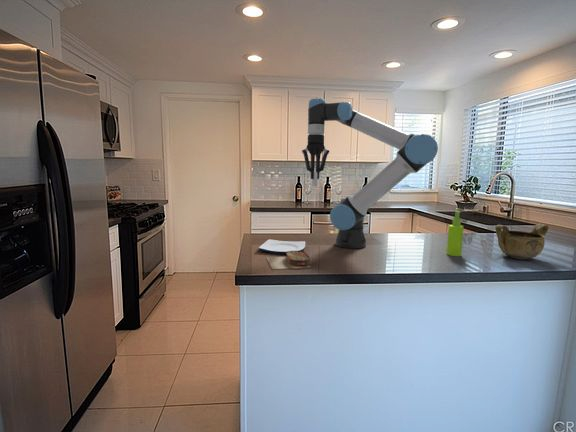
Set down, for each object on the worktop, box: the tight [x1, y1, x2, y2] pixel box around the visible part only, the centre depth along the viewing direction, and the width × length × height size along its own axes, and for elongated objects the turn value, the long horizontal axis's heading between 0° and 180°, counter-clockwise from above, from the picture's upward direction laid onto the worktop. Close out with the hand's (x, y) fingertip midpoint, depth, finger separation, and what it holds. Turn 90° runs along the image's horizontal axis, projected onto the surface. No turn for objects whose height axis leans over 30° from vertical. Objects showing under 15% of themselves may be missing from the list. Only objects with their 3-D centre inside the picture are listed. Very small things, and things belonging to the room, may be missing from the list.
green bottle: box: [446, 209, 465, 257], centre depth 150 cm, size 6×7×20 cm
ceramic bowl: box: [494, 223, 549, 260], centre depth 146 cm, size 22×17×15 cm
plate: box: [258, 239, 306, 255], centre depth 156 cm, size 20×20×3 cm
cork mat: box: [265, 256, 312, 271], centre depth 135 cm, size 15×16×1 cm
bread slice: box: [285, 250, 311, 266], centre depth 136 cm, size 15×3×8 cm
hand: (314, 186), depth 156 cm, fingers closed
